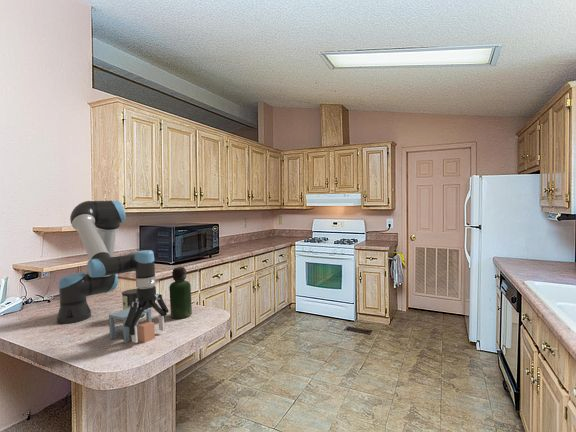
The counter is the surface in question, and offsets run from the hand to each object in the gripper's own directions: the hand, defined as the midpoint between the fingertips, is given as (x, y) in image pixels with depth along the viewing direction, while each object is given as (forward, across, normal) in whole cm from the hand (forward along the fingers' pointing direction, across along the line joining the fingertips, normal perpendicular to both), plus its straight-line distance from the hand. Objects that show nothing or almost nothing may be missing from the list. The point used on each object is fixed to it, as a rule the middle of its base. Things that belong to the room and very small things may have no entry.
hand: (148, 335), depth 139 cm
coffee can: (+1, +16, +31) cm, 35 cm away
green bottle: (+2, +28, +10) cm, 29 cm away
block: (+2, -1, +1) cm, 2 cm away
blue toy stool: (+1, 0, +12) cm, 12 cm away
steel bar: (+2, 0, +12) cm, 13 cm away
